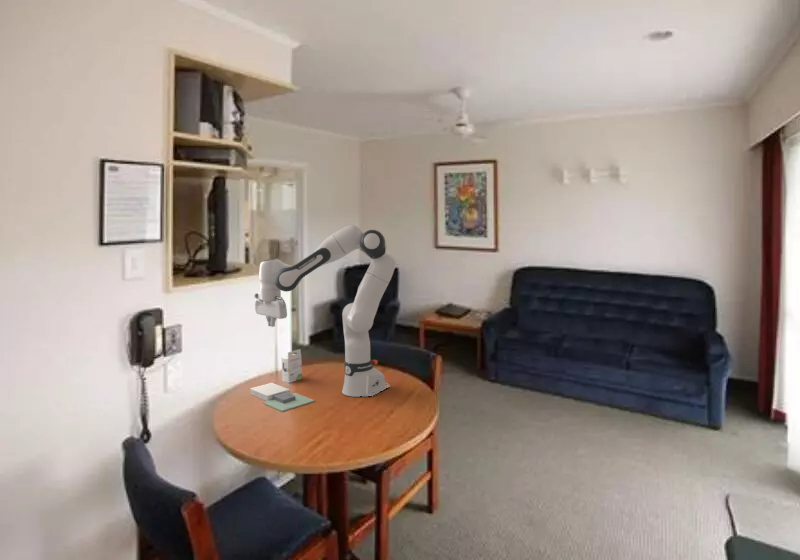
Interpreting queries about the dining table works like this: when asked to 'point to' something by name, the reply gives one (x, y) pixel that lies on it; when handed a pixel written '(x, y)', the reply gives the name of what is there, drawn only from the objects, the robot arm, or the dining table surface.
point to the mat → (289, 403)
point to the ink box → (292, 367)
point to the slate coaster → (284, 397)
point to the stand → (268, 391)
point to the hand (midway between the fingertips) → (271, 326)
